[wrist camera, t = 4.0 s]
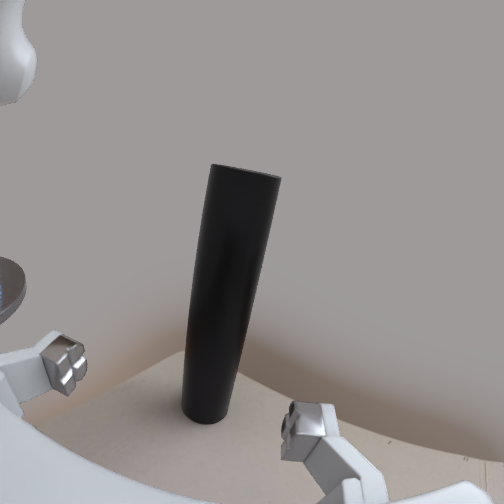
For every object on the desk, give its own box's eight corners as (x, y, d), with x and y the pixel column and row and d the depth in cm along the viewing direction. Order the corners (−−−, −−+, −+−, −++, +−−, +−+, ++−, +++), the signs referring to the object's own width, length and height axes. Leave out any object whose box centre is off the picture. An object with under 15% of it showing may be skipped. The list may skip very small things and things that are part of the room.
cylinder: (176, 417, 22) (204, 163, 15) (187, 386, 26) (217, 164, 19) (224, 428, 22) (283, 178, 15) (229, 395, 26) (279, 176, 20)
